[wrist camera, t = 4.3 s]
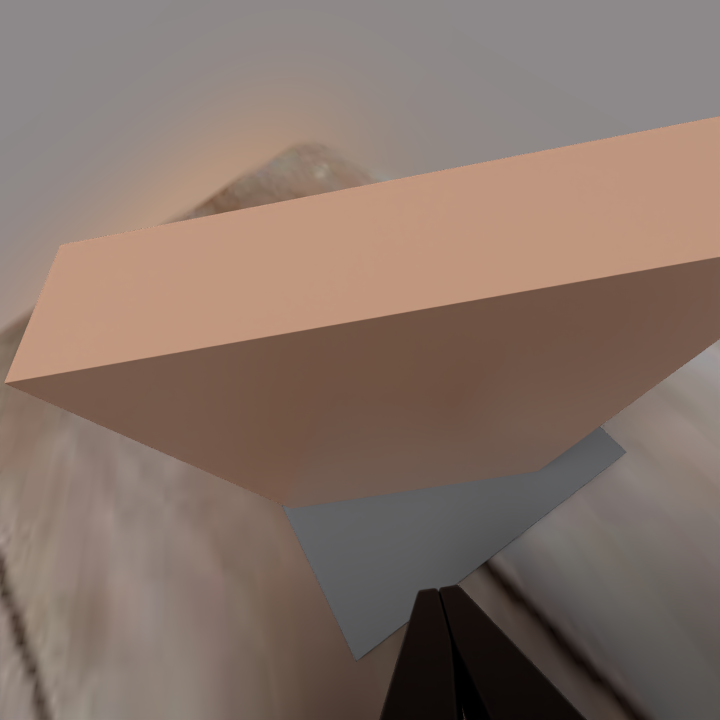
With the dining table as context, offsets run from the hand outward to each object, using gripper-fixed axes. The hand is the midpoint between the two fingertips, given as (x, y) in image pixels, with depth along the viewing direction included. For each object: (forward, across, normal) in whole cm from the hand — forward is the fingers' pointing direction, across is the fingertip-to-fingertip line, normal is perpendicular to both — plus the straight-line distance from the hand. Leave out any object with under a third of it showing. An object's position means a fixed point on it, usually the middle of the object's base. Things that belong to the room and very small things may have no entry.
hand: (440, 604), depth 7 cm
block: (+8, 0, -2) cm, 8 cm away
